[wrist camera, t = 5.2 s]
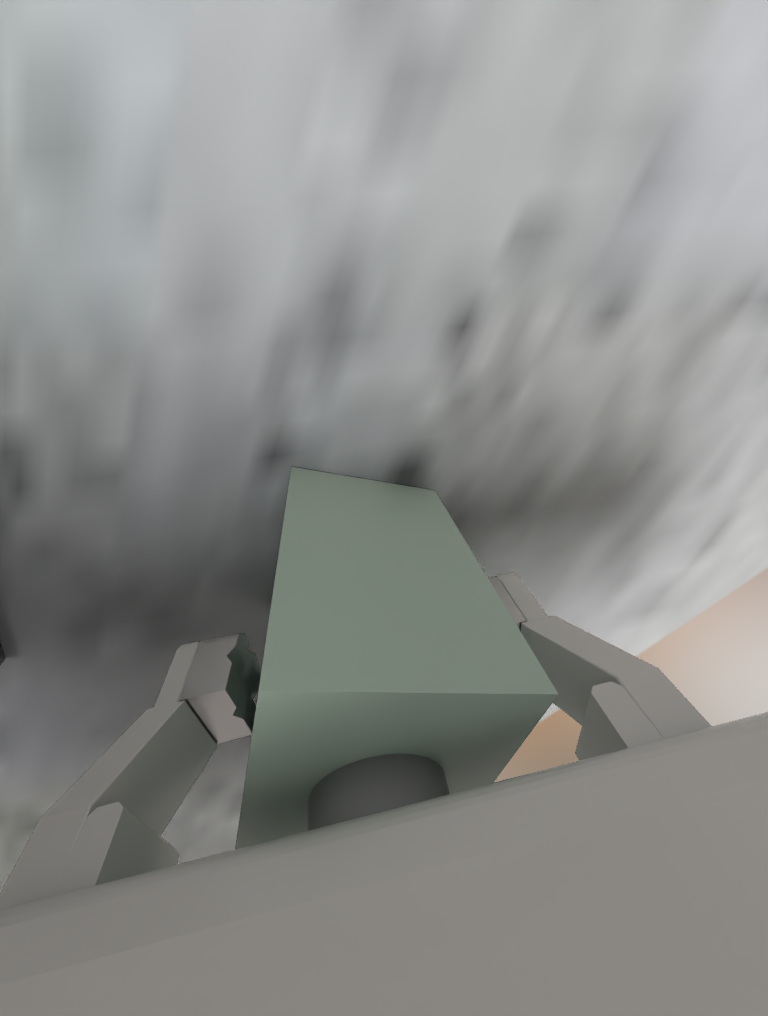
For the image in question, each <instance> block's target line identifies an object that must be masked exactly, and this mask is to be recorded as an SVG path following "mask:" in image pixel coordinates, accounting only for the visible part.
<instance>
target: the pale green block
mask: <svg viewBox="0 0 768 1016" xmlns="http://www.w3.org/2000/svg"><path fill="white" fill-rule="evenodd" d="M557 696H558V693H557V691H556V689H555V688H554V686H553V684H552V683H551V681H550V679H549V678H548V676H547V674H546V673H545V671H544V669H543V668H542V666H541V665H540V663H539V661H538V660H537V658H536V656H535V655H534V653H533V651H532V650H531V648H530V646H529V645H528V643H527V641H526V640H525V638H524V636H523V635H522V633H521V632H520V630H519V628H518V627H517V625H516V623H515V622H514V620H513V618H512V617H511V615H510V613H509V612H508V610H507V608H506V607H505V605H504V603H503V602H502V600H501V599H500V597H499V595H498V594H497V592H496V590H495V589H494V587H493V585H492V584H491V582H490V580H489V579H488V577H487V575H486V574H485V572H484V570H483V569H482V567H481V566H480V564H479V562H478V561H477V559H476V557H475V556H474V554H473V552H472V551H471V549H470V547H469V546H468V544H467V542H466V541H465V539H464V537H463V536H462V534H461V533H460V531H459V529H458V528H457V526H456V524H455V523H454V521H453V519H452V518H451V516H450V514H449V513H448V511H447V509H446V508H445V506H444V504H443V503H442V501H441V500H440V498H439V496H438V495H437V493H436V491H435V490H429V489H423V488H417V487H410V486H404V485H398V484H392V483H386V482H380V481H374V480H368V479H362V478H356V477H350V476H344V475H338V474H332V473H326V472H320V471H314V470H308V469H302V468H296V467H291V472H290V479H289V486H288V493H287V500H286V506H285V513H284V520H283V527H282V534H281V540H280V547H279V554H278V561H277V568H276V574H275V581H274V588H273V595H272V602H271V608H270V615H269V622H268V629H267V636H266V642H265V649H264V656H263V663H262V670H261V677H260V683H259V690H258V697H257V704H256V711H255V717H254V724H253V731H252V738H251V745H250V752H249V758H248V765H247V772H246V779H245V786H244V792H243V799H242V806H241V813H240V820H239V826H238V833H237V840H236V847H235V849H239V848H243V847H246V846H250V845H254V844H258V843H262V842H266V841H270V840H274V839H277V838H281V837H285V836H289V835H293V834H297V833H301V832H305V831H308V830H312V829H316V828H320V827H324V826H328V825H332V824H336V823H339V822H343V821H347V820H351V819H355V818H359V817H363V816H367V815H371V814H374V813H378V812H382V811H386V810H390V809H394V808H398V807H402V806H405V805H409V804H413V803H417V802H421V801H425V800H429V799H433V798H436V797H440V796H444V795H448V794H452V793H456V792H460V791H464V790H468V789H471V788H475V787H479V786H483V785H487V784H491V783H493V782H494V781H495V780H496V778H497V777H498V775H499V774H500V773H501V771H502V770H503V769H504V767H505V766H506V765H507V763H508V762H509V761H510V759H511V758H512V757H513V755H514V754H515V753H516V751H517V750H518V749H519V747H520V746H521V744H522V743H523V742H524V740H525V739H526V738H527V736H528V735H529V734H530V732H531V731H532V730H533V728H534V727H535V726H536V724H537V723H538V721H539V720H540V719H541V717H542V716H543V715H544V713H545V712H546V711H547V709H548V708H549V707H550V705H551V704H552V703H553V701H554V700H555V699H556V697H557Z"/></svg>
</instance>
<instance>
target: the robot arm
mask: <svg viewBox="0 0 768 1016" xmlns="http://www.w3.org/2000/svg"><path fill="white" fill-rule="evenodd" d="M488 579H489V580H490V582H491V584H492V585H493V587H494V589H495V590H496V592H497V594H498V595H499V597H500V599H501V600H502V602H503V603H504V605H505V607H506V608H507V610H508V612H509V613H510V615H511V617H512V618H513V620H514V622H515V623H516V625H517V627H518V628H519V630H520V632H521V633H522V635H523V636H524V638H525V640H526V641H527V643H528V645H529V646H530V648H531V650H532V651H533V653H534V655H535V656H536V658H537V660H538V661H539V663H540V665H541V666H542V668H543V669H544V671H545V673H546V674H547V676H548V678H549V679H550V681H551V683H552V684H553V686H554V688H555V689H556V691H557V693H558V696H557V697H556V699H555V700H554V701H553V703H554V704H555V705H557V706H558V707H559V708H560V709H562V710H563V711H564V712H565V713H567V714H568V715H569V716H570V717H572V718H573V719H574V720H576V721H577V722H578V723H579V724H581V725H582V729H581V732H580V736H579V740H578V744H577V748H576V752H575V754H576V755H577V757H578V759H579V761H576V762H572V763H568V764H565V765H561V766H557V767H553V768H549V769H545V770H541V771H537V772H534V773H530V774H526V775H522V776H518V777H514V778H510V779H506V780H503V781H499V782H495V783H491V784H487V785H483V786H479V787H475V788H471V789H468V790H464V791H460V792H456V793H452V794H448V795H444V796H440V797H436V798H433V799H429V800H425V801H421V802H417V803H413V804H409V805H405V806H402V807H398V808H394V809H390V810H386V811H382V812H378V813H374V814H371V815H367V816H363V817H359V818H355V819H351V820H347V821H343V822H339V823H336V824H332V825H328V826H324V827H320V828H316V829H312V830H308V831H305V832H301V833H297V834H293V835H289V836H285V837H281V838H277V839H274V840H270V841H266V842H262V843H258V844H254V845H250V846H246V847H243V848H239V849H235V850H231V851H227V852H223V853H219V854H215V855H212V856H208V857H204V858H200V859H196V860H192V861H188V862H185V863H181V864H177V861H178V857H179V854H178V852H177V850H176V849H175V848H174V847H173V846H172V845H170V844H169V843H168V842H167V841H166V840H164V839H163V838H162V837H161V834H162V833H163V831H164V829H165V828H166V826H167V825H168V823H169V822H170V820H171V818H172V817H173V815H174V814H175V812H176V811H177V809H178V807H179V806H180V804H181V803H182V801H183V800H184V798H185V796H186V795H187V793H188V792H189V790H190V789H191V787H192V785H193V784H194V782H195V781H196V779H197V778H198V776H199V774H200V773H201V771H202V770H203V768H204V767H205V765H206V763H207V762H208V760H209V759H210V757H211V756H212V754H213V752H214V751H215V749H216V748H217V744H219V743H223V742H226V741H230V740H234V739H238V738H241V737H245V736H249V735H252V731H253V724H254V717H255V711H256V705H255V703H254V702H253V700H252V699H253V698H254V697H255V695H256V694H257V693H258V690H259V683H260V666H259V662H258V659H257V657H256V655H255V653H253V652H251V651H249V650H248V645H249V641H248V639H247V637H246V635H245V634H244V633H238V634H233V635H228V636H222V637H217V638H212V639H207V640H202V641H199V642H194V643H188V644H183V645H181V646H180V647H179V648H178V649H177V650H176V653H175V655H174V658H173V660H172V663H171V665H170V668H169V670H168V673H167V675H166V678H165V680H164V683H163V685H162V688H161V690H160V693H159V695H158V698H157V700H156V703H155V705H154V707H153V708H149V709H147V710H146V711H145V712H144V713H143V714H142V715H141V716H140V717H139V718H138V719H137V720H136V721H135V722H134V723H133V724H132V725H131V726H130V727H129V728H128V729H127V730H126V731H125V732H124V733H123V734H122V735H121V736H120V737H119V738H118V739H117V740H116V741H115V742H114V743H113V744H112V746H111V747H110V748H109V749H108V750H107V751H106V752H105V753H104V754H103V755H102V756H101V757H100V758H99V759H98V760H97V761H96V762H95V763H94V764H93V765H92V766H91V767H90V768H89V769H88V770H87V771H86V772H85V773H84V774H83V775H82V776H81V777H80V778H79V779H78V780H77V781H76V782H75V783H74V784H73V785H72V786H71V787H70V788H69V789H68V791H67V792H66V793H65V794H64V795H63V796H62V797H61V798H60V799H59V800H58V801H57V802H56V803H55V804H54V805H53V806H52V807H51V808H50V809H49V810H48V811H47V812H46V813H45V814H44V815H43V816H42V817H41V818H40V820H39V822H38V823H37V825H36V827H35V829H34V831H33V833H32V835H31V837H30V838H29V840H28V842H27V844H26V846H25V848H24V850H23V852H22V854H21V855H20V857H19V859H18V861H17V863H16V865H15V867H14V869H13V870H12V872H11V874H10V876H9V878H8V880H7V882H6V884H5V886H4V887H3V889H2V891H1V893H0V1016H768V712H766V713H762V714H759V715H755V716H751V717H747V718H743V719H739V720H735V721H731V722H727V723H723V724H720V725H716V726H711V725H710V724H709V723H708V722H707V721H706V720H705V718H704V717H703V716H702V715H701V714H700V713H699V712H698V711H697V710H696V709H695V708H694V706H693V705H692V704H691V703H690V702H689V701H688V700H687V699H686V698H685V697H684V696H683V695H682V693H681V692H680V691H679V690H678V689H677V688H676V687H675V686H674V685H673V684H672V682H671V681H670V680H669V679H668V678H667V677H666V676H665V675H664V674H663V673H662V672H661V670H660V669H659V668H657V667H655V666H653V665H651V664H649V663H647V662H645V661H643V660H641V659H639V658H637V657H635V656H633V655H631V654H629V653H627V652H625V651H623V650H621V649H619V648H617V647H615V646H613V645H611V644H609V643H607V642H605V641H604V640H602V639H600V638H598V637H596V636H594V635H592V634H590V633H588V632H586V631H584V630H582V629H580V628H578V627H576V626H574V625H572V624H570V623H568V622H566V621H564V620H562V619H560V618H558V617H556V616H549V617H548V615H547V614H546V613H545V611H544V610H543V608H542V607H541V606H540V604H539V603H538V602H537V600H536V599H535V598H534V596H533V595H532V593H531V592H530V591H529V589H528V588H527V587H526V585H525V584H524V583H523V581H522V580H521V578H520V577H519V576H518V574H516V573H515V572H511V573H507V574H503V575H498V576H495V577H490V578H488Z"/></svg>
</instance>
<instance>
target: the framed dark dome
mask: <svg viewBox="0 0 768 1016" xmlns="http://www.w3.org/2000/svg"><path fill="white" fill-rule="evenodd" d="M4 660H5V658H4V655H3V652H2V649H1V645H0V665H1V664H2V663H3V661H4Z"/></svg>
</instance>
